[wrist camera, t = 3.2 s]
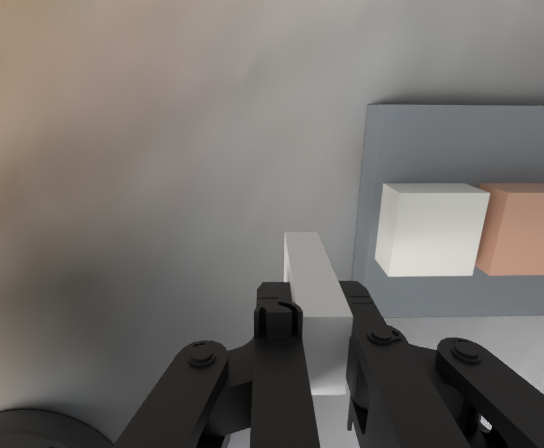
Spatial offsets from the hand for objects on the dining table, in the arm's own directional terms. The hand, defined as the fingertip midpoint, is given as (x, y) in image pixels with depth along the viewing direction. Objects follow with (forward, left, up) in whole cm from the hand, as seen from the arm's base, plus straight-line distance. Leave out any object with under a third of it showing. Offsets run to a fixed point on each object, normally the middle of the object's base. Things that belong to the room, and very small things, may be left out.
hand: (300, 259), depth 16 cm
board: (+13, 0, -9) cm, 15 cm away
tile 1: (+14, 0, -6) cm, 15 cm away
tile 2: (+8, 0, -6) cm, 10 cm away
